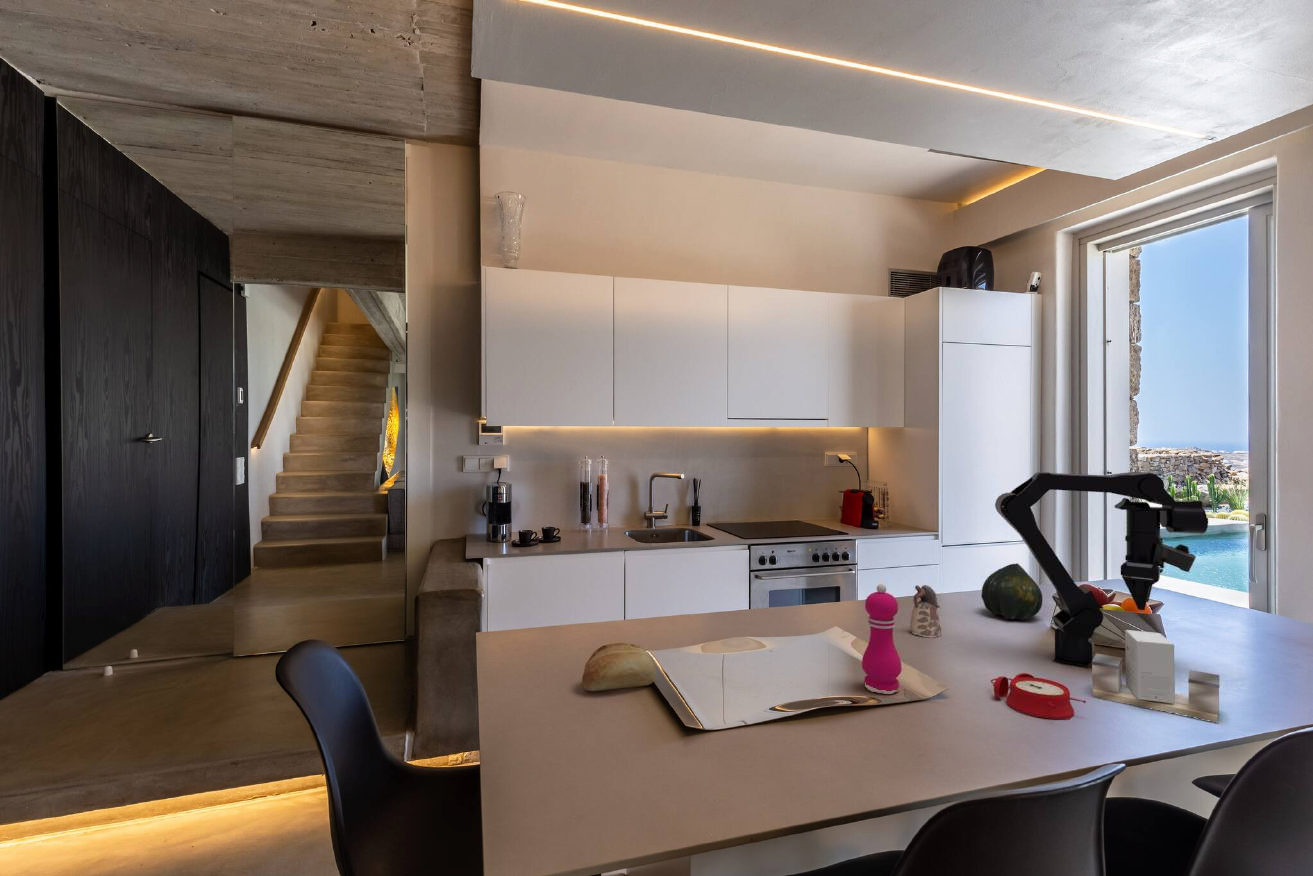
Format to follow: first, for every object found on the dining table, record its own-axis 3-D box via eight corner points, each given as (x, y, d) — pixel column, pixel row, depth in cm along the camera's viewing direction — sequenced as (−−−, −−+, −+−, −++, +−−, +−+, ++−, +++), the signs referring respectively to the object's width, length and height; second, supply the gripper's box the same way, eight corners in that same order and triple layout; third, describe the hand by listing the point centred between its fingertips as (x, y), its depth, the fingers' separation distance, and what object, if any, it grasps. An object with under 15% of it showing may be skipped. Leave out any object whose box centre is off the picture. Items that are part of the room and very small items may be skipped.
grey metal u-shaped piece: (1091, 696, 121) (1091, 662, 121) (1097, 684, 127) (1097, 652, 127) (1219, 724, 110) (1219, 686, 110) (1219, 709, 116) (1219, 673, 116)
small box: (1175, 704, 114) (1175, 644, 114) (1136, 699, 116) (1136, 640, 116) (1161, 689, 121) (1161, 632, 122) (1125, 684, 124) (1124, 629, 124)
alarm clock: (1049, 705, 109) (979, 657, 122) (1042, 738, 110) (973, 687, 124) (1094, 697, 112) (1021, 652, 126) (1087, 729, 113) (1015, 681, 127)
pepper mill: (907, 688, 125) (907, 584, 125) (892, 699, 120) (892, 590, 120) (871, 679, 130) (871, 578, 130) (855, 689, 125) (855, 584, 125)
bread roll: (573, 684, 127) (573, 643, 127) (643, 673, 133) (643, 634, 134) (591, 702, 118) (591, 658, 118) (664, 689, 125) (664, 647, 125)
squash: (980, 601, 172) (1020, 559, 171) (963, 591, 187) (1000, 552, 186) (1024, 639, 170) (1065, 597, 169) (1004, 626, 185) (1041, 587, 183)
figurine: (946, 638, 158) (946, 588, 158) (916, 637, 158) (916, 588, 158) (934, 629, 165) (934, 582, 165) (905, 629, 165) (905, 582, 165)
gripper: (1191, 540, 125) (1191, 621, 125) (1193, 530, 139) (1194, 603, 139) (1120, 534, 132) (1120, 611, 132) (1129, 526, 146) (1129, 595, 146)
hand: (1143, 605), depth 137 cm, fingers open, 9 cm apart
